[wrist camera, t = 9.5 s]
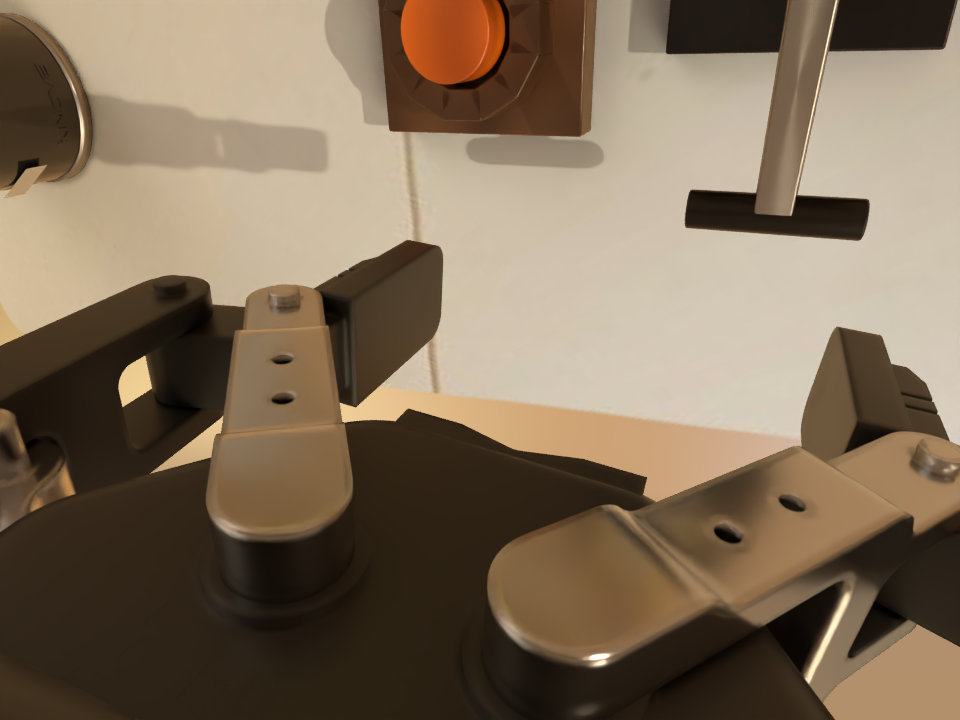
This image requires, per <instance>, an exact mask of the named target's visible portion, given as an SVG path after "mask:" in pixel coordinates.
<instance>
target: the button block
mask: <svg viewBox="0 0 960 720" xmlns="http://www.w3.org/2000/svg"><path fill="white" fill-rule="evenodd" d="M406 1H407V0H378V2H379V14H380V26H381V37H382V49H383V61H384V73H385V84H386V96H387V108H388V119H389V130H390V131H393V132H428V133H464V134H500V135H536V136H572V137H580V136H582V135H584V134H586V133H587V132H589V131H590V130H591V110H592V89H593V68H594V46H595V25H596V3H597V0H498V2H499V3H500V6H501V8H502V11H503V15H504V19H505V41H504V46H503V49H502V52H501V55H500V57H499V59H498V60H497V62H496V63H495V65H494V66H493V67H492V69H491V70H490V71H489V72H487V73H486V74H485V75H483V76H482V77H480V78H478V79H475V80H472V81H467V82H461V83H456V84H448V85H446V84H438V83H435V82H432V81H430V80H428V79H426V78H425V77H423V76H422V75H421V74H420V73H419V72H418V71H417V70H416V69H415V68H414V67H413V65H412V64H411V62H410V61H409V59H408V57H407V55H406V53H405V50H404V47H403V43H402V38H401V18H402V13H403V9H404V6H405V4H406Z"/></svg>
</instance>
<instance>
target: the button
mask: <svg viewBox="0 0 960 720" xmlns="http://www.w3.org/2000/svg"><path fill="white" fill-rule="evenodd" d="M401 38H402V43H403V47H404V50H405V53H406V55H407V57H408V59H409V61H410V62H411V64H412V65H413V67H414V68H415V69H416V70H417V71H418V72H419V73H420V74H421V75H422V76H423V77H425V78H426V79H428V80H430V81H432V82H435V83H438V84H446V85H448V84H456V83H461V82H467V81H472V80H475V79H478V78H480V77H482V76H483V75H485V74H486V73H487V72H489V71H490V70H491V69H492V67H493V66H494V65H495V63H496V62H497V60H498V59H499V57H500V55H501V52H502V49H503V46H504V41H505V19H504V15H503V11H502V8H501V6H500V3H499V2H498V0H407V1H406V4H405V6H404V9H403V13H402V18H401Z"/></svg>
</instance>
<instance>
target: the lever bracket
mask: <svg viewBox="0 0 960 720" xmlns="http://www.w3.org/2000/svg"><path fill="white" fill-rule="evenodd" d="M787 1H788V0H671V1H670V12H669V23H668V34H667V45H666V53H667V54H711V53H770V52H779V50H780V44H781V38H782V31H783V25H784V19H785V13H786V7H787ZM957 1H958V0H839V4H838V9H837V14H836V18H835V23H834V27H833V32H832V37H831V41H830V46H829V51H887V50H941V49H944V48H945V46H946V42H947V39H948V35H949V31H950V27H951V23H952V20H953V16H954V12H955V8H956V5H957Z"/></svg>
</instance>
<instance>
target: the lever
mask: <svg viewBox="0 0 960 720" xmlns="http://www.w3.org/2000/svg"><path fill="white" fill-rule="evenodd" d="M838 4H839V0H788V1H787V7H786V13H785V19H784V25H783V31H782V38H781V44H780V50H779V56H778V62H777V68H776V74H775V81H774V87H773V93H772V99H771V105H770V111H769V117H768V124H767V130H766V136H765V142H764V148H763V154H762V161H761V167H760V173H759V179H758V185H757V191H756V193H747V192H728V191H710V190H690V192H689V195H688V200H687V206H686V213H685V227H686V228H693V229H707V230H720V231H734V232H747V233H761V234H774V235H788V236H801V237H814V238H828V239H841V240H855V241H859V240H861V239H862V237H863V235H864V233H865V229H866V226H867V221H868V216H869V208H870V203H869V200H868V199H858V198H839V197H821V196H802V195H797V194H798V189H799V185H800V180H801V176H802V171H803V166H804V162H805V157H806V152H807V148H808V143H809V139H810V134H811V129H812V125H813V120H814V115H815V111H816V106H817V102H818V97H819V92H820V88H821V83H822V78H823V74H824V69H825V64H826V60H827V55H828V51H829V46H830V41H831V37H832V32H833V27H834V23H835V18H836V14H837V9H838Z"/></svg>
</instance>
